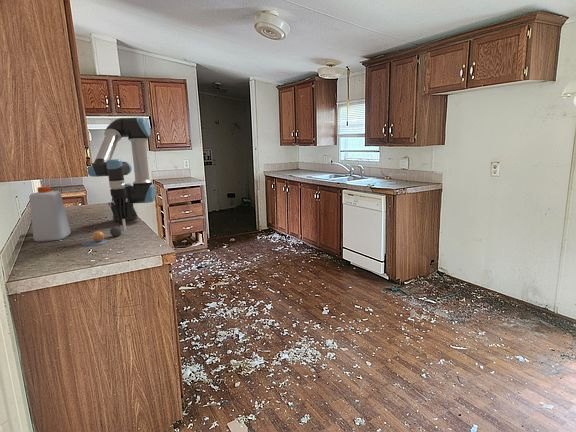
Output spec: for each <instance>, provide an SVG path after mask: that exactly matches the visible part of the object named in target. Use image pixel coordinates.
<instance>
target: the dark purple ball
mask: <svg viewBox="0 0 576 432" xmlns="http://www.w3.org/2000/svg"><path fill="white" fill-rule="evenodd" d="M109 233H110V235H111V236H112V237H119V236H120V235H121V234H122V231H121V229H120V226H117V225H115V226H112V227H111V228H110V229H109Z"/></svg>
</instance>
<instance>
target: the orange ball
mask: <svg viewBox="0 0 576 432" xmlns="http://www.w3.org/2000/svg"><path fill="white" fill-rule="evenodd" d="M92 239H93V240H94V241H96V242H100V241H102V240H103V239H105V233H104V232H102V231H100V230H97V231H96V230H95V232H93V233H92Z"/></svg>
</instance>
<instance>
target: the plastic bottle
mask: <svg viewBox="0 0 576 432" xmlns="http://www.w3.org/2000/svg"><path fill="white" fill-rule="evenodd" d="M36 190H37V192H33V193H31V194H30V195H29V196H28V198H29V208H30V215H31V216H30V217H31V226H32V235H33V236H32V237H33V241H35V242H39V243H40V242H41V243H42V242H52V241H54V242H55V241H60V240H63V239H66V238H67V237H68V236H69V235H71V234H72V233H71V232H72V231H71V227H70V224H69V221H68V220H69V219H68V216H67V213H66V209H65V203H64V201H63V196H62V193H61V191H59V190H52V186H49V185H48V186H39V187H37V189H36Z"/></svg>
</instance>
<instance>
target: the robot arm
mask: <svg viewBox="0 0 576 432" xmlns="http://www.w3.org/2000/svg"><path fill="white" fill-rule="evenodd" d="M151 133H152V132H151V126H150V124H149V121H148V120H147V119H146V118H145V117H121V118H120V117H119V118H116V119H115V120H113V121H112V122H110V123H109V124H108V126H106V128H105V130H104V133H103V134H104V137H103V140H102V143H101V145H100V147H99V149H98V152H97V154H96V157H95V158H94V159H95V160H94V162H91V163H92V166H91V167H88V168H87V167H86V170H87V169H88V173H87V175H88V176H89V177H94V178H96V177H97V178H98V177H108V183H109V189H110V190H109V192H110V196H111V201H110V202H108V206H109V207H110V209H111V213H112V217H111V218H112V222H113V223H114V222H115V223H118V226H119V228H120V229H121V232H122V231H123V232H125V231H127V226H126V225H127V222H131V221H135V220H137V219H139V217H138V214H137V211H136V209H135V207H134V204H149V203H153V202H154V201H155V199H156V195H157V187H156V185H155V184H153V181H152V180H150V172H149V163H148V161H149V160H148V151H147V141H148V140H149V137H150V136H151ZM122 138H128V139H127V140H129V142H130V143H131V152H132V162H133V163H132V164H133V168H132V165H131V163H130V162H127V161H123V160H122V159H119V158H118V159H117V158H115V159H113V155H114V153H115V150H116V147H117V145H118V142H120V141H121V139H122ZM132 169H133V172H134V173H133V174H134V181H133V182H132V185H131V183H125V176H127V175H129V174H131V172H132Z"/></svg>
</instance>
